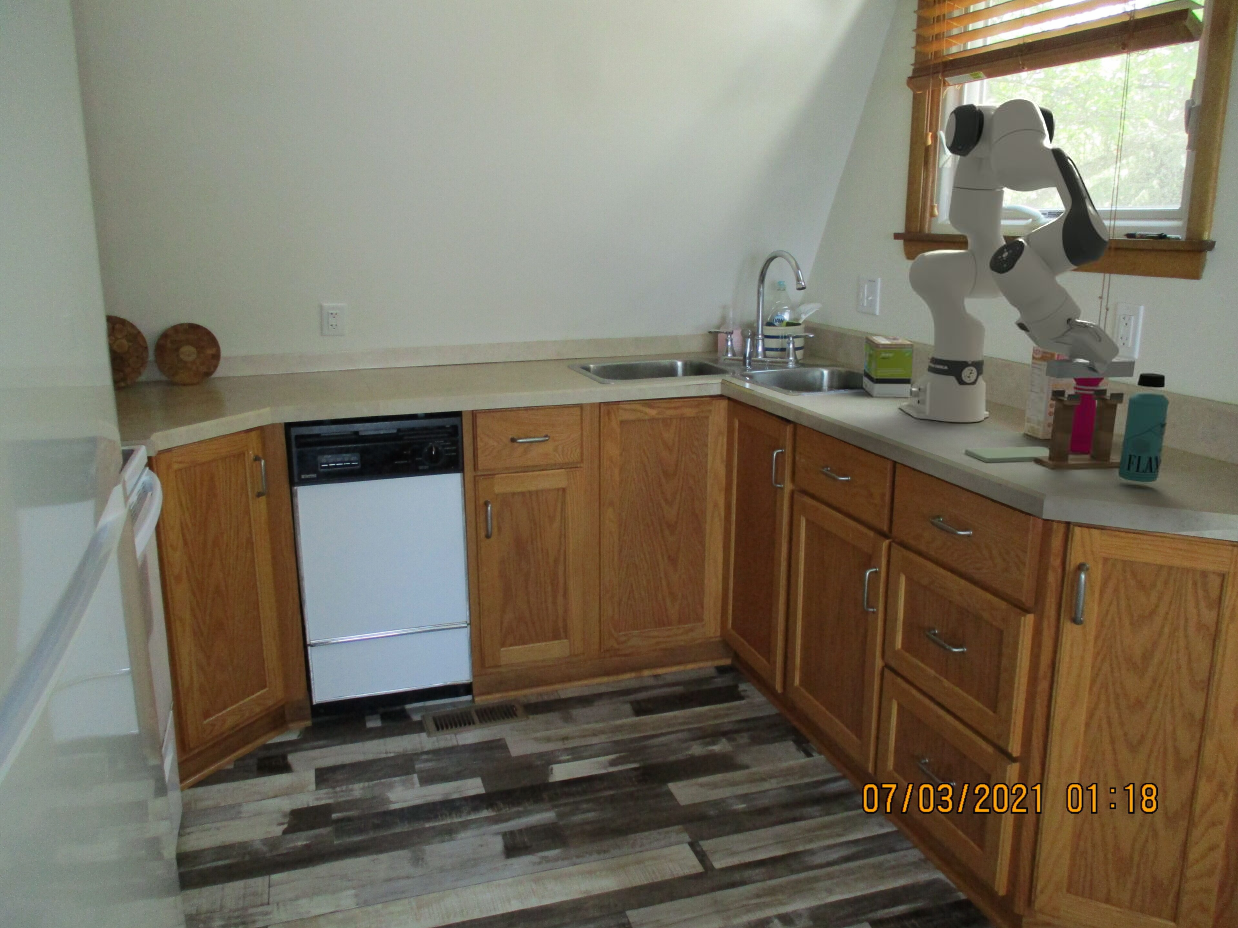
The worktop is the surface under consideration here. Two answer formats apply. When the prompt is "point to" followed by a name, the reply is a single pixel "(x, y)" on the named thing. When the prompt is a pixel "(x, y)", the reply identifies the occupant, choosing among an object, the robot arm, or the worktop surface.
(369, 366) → the worktop surface
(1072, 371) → the rail
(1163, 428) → the beverage bottle
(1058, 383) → the coffeecake box
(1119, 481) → the worktop surface
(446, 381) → the worktop surface
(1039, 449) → the mat
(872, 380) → the tea box
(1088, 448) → the pepper mill
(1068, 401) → the stand
